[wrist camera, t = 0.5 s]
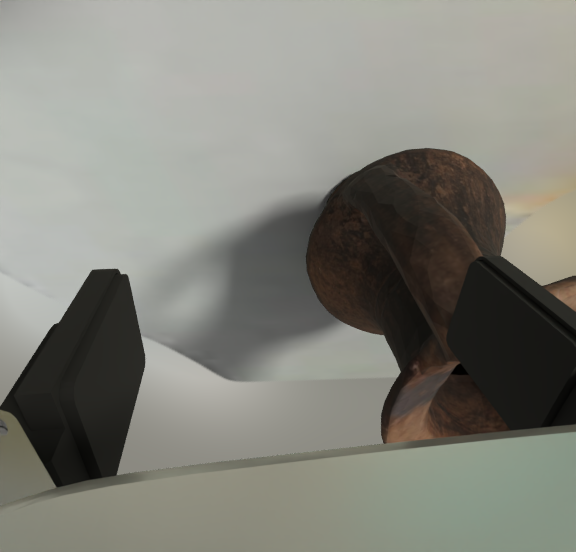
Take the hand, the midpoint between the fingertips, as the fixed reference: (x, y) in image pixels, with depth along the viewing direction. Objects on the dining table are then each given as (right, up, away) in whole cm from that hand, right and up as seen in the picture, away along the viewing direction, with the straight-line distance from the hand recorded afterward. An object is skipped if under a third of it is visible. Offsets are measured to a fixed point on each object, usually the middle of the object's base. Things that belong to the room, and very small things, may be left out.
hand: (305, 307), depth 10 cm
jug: (+8, +9, +32) cm, 34 cm away
